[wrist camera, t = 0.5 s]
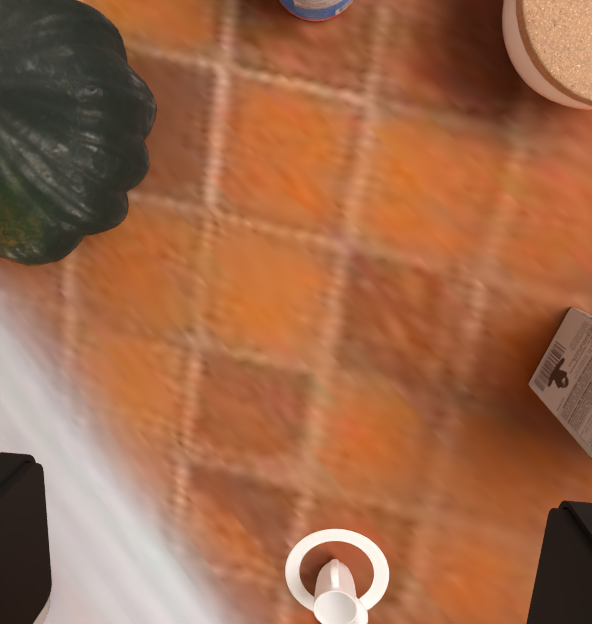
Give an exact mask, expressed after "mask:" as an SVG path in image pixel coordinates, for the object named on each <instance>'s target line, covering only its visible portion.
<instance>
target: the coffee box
mask: <svg viewBox="0 0 592 624" xmlns="http://www.w3.org/2000/svg"><path fill="white" fill-rule="evenodd" d="M529 387H530V388H531V389H532V390H533V391H534V392H535V394H536V395H537V396H538V397H539V398H540V399H541V400H542V402H543V403H544V404H545V405H546V406H547V407H548V409H549V410H550V411H551V412H552V413H553V414H554V415H555V417H556V418H557V419H558V420H559V421H560V422H561V424H562V425H563V426H564V427H565V428H566V430H567V431H568V432H569V433H570V434H571V435H572V436H573V437H574V439H575V440H576V441H577V442H578V443H579V445H580V446H581V447H582V448H583V449H584V450H585V451H586V453H587V454H588V455H589V456H590V457H591V459H592V315H590V314H588V313H586V312H584V311H581V310H579V309H577V308H574V307H572V308H571V309H570V310H569V311H568V313H567V314H566V316H565V318H564V320H563V322H562V324H561V325H560V327H559V329H558V331H557V333H556V334H555V336H554V338H553V340H552V342H551V344H550V345H549V347H548V349H547V351H546V353H545V354H544V356H543V358H542V360H541V362H540V364H539V365H538V367H537V369H536V371H535V373H534V374H533V376H532V378H531V380H530V382H529Z"/></svg>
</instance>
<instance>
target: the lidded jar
mask: <svg viewBox="0 0 592 624" xmlns="http://www.w3.org/2000/svg"><path fill="white" fill-rule="evenodd" d="M502 31H503V37H504V42H505V47H506V49H507V52H508V55H509V58H510V60H511V62H512V64H513V66H514V68H515V69H516V71H517V73H518V74H519V75H520V76H521V78H522V79H523V80H524V81H525V83H526V84H527V85H529V86H530V87H531V88H532V89H533V90H534V91H536V92H537V93H539V94H540V95H542V96H544V97H545V98H547V99H549V100H551V101H554V102H556V103H559V104H562V105H564V106H568V107H573V108H578V109H586V110H592V0H504V3H503V11H502Z"/></svg>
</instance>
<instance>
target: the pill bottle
mask: <svg viewBox="0 0 592 624" xmlns="http://www.w3.org/2000/svg"><path fill="white" fill-rule="evenodd" d="M279 1H280V2H281V4H282V5H283V6H284V7H285V8H286V9H287V10H288V11H289V12H290V13H292V14H293V15H295V16H297V17H299V18H301V19H304V20H308V21H324V20H328V19H331V18H333V17H336V16H337V15H339V14H340V13H342V12H343V11H344V10H345V9H346V8H347V7H348V6H349V5H350V4H351V3H352V2H353V0H279Z"/></svg>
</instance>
